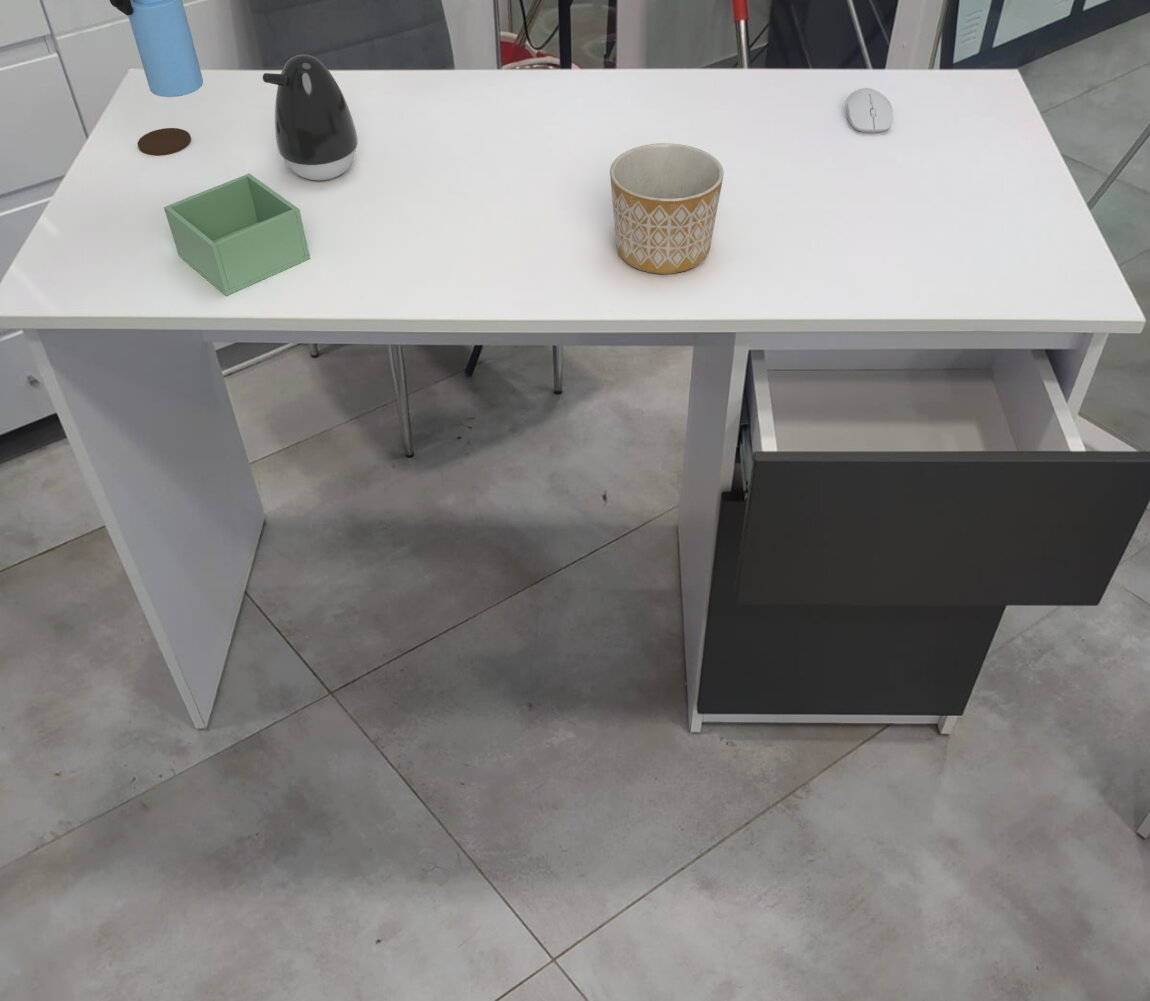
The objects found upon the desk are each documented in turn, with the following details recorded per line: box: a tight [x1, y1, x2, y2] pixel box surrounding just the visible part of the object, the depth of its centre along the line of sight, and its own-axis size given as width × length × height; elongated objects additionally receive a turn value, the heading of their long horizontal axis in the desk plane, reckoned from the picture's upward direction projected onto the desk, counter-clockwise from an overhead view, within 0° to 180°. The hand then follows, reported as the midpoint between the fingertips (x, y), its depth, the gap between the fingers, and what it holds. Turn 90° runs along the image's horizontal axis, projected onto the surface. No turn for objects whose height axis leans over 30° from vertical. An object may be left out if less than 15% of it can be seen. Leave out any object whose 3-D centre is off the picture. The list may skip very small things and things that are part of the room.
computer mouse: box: [845, 87, 894, 134], centre depth 153 cm, size 6×10×3 cm, turn 179°
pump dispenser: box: [262, 54, 359, 181], centre depth 140 cm, size 10×10×15 cm
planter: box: [609, 142, 725, 275], centre depth 128 cm, size 13×13×10 cm
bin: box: [163, 173, 311, 297], centre depth 129 cm, size 11×11×7 cm
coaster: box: [137, 127, 192, 156], centre depth 152 cm, size 7×7×1 cm
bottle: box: [127, 0, 204, 98], centre depth 123 cm, size 6×6×14 cm
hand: (153, 1), depth 121 cm, fingers closed on bottle, 6 cm apart
